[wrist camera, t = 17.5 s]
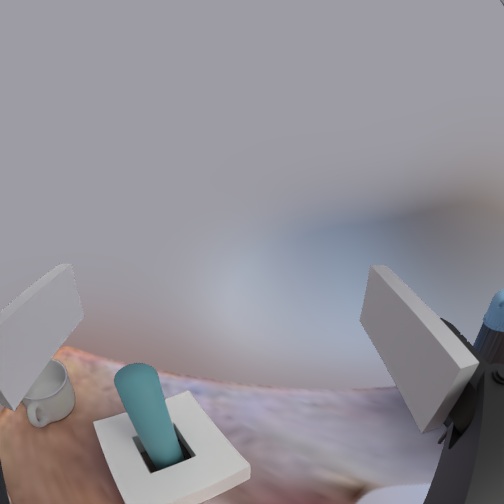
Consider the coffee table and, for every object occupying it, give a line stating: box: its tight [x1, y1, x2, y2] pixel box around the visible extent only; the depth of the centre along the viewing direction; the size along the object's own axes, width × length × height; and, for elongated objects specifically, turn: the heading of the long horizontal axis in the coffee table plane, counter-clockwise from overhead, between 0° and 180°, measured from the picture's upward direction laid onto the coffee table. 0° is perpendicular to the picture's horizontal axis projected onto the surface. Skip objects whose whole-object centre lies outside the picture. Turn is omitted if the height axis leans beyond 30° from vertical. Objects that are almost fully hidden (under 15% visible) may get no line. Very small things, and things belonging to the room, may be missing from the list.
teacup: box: [22, 358, 75, 428], centre depth 32 cm, size 14×11×8 cm
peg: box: [114, 363, 185, 471], centre depth 27 cm, size 4×4×18 cm
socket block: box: [93, 390, 250, 504], centre depth 29 cm, size 16×16×4 cm
